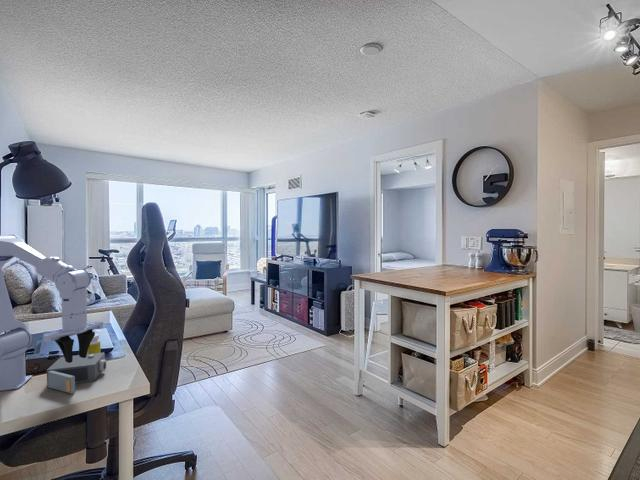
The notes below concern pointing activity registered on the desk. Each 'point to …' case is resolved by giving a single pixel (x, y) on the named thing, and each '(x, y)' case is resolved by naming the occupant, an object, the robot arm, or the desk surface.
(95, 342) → the supplement bottle
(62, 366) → the camera body
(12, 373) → the robot arm
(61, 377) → the side door
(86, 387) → the desk surface
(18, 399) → the desk surface
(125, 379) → the desk surface
